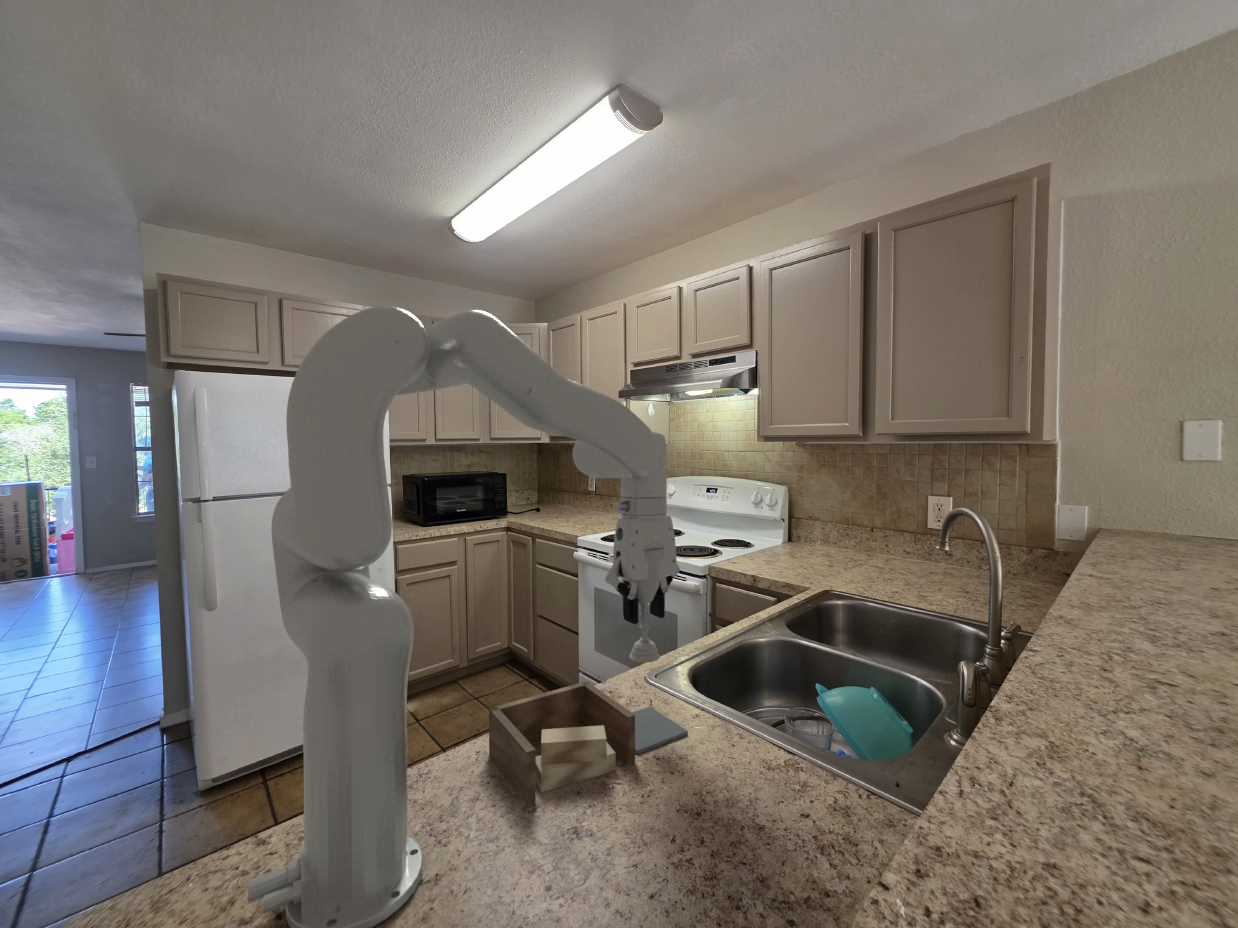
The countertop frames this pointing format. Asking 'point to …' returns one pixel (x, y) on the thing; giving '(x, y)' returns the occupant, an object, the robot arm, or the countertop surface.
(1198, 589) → the countertop surface
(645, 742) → the slate tile
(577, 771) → the offcut lower
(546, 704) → the brown wooden u-shaped frame
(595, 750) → the offcut upper
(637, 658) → the chalice
